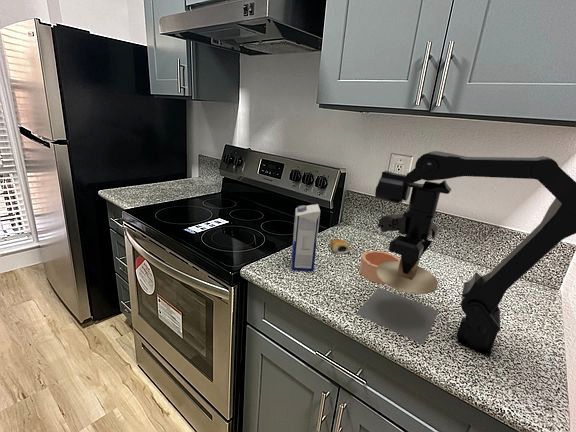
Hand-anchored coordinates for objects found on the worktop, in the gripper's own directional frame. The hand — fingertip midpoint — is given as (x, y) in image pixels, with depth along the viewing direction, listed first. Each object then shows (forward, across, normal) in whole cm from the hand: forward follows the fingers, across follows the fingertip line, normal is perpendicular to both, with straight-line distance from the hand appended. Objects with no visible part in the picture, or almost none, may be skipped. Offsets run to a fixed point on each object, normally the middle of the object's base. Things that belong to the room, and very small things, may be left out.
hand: (407, 270), depth 74 cm
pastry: (+13, -24, -29) cm, 40 cm away
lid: (+2, 0, 0) cm, 2 cm away
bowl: (+12, -16, -11) cm, 23 cm away
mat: (+12, 0, 0) cm, 13 cm away
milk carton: (+13, -4, -32) cm, 35 cm away
